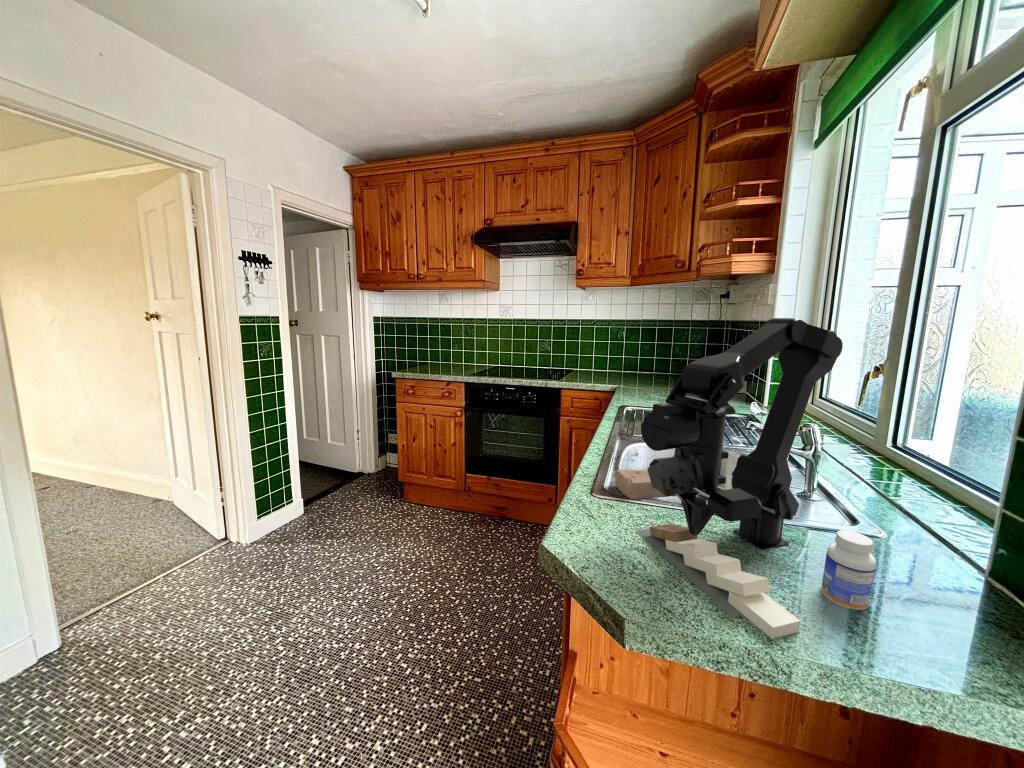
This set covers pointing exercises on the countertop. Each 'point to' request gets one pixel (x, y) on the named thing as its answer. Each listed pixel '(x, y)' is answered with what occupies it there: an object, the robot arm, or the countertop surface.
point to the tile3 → (714, 564)
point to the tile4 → (740, 583)
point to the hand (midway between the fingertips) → (694, 534)
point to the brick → (636, 484)
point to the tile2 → (693, 547)
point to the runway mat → (691, 573)
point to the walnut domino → (672, 532)
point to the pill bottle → (849, 570)
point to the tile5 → (765, 614)
